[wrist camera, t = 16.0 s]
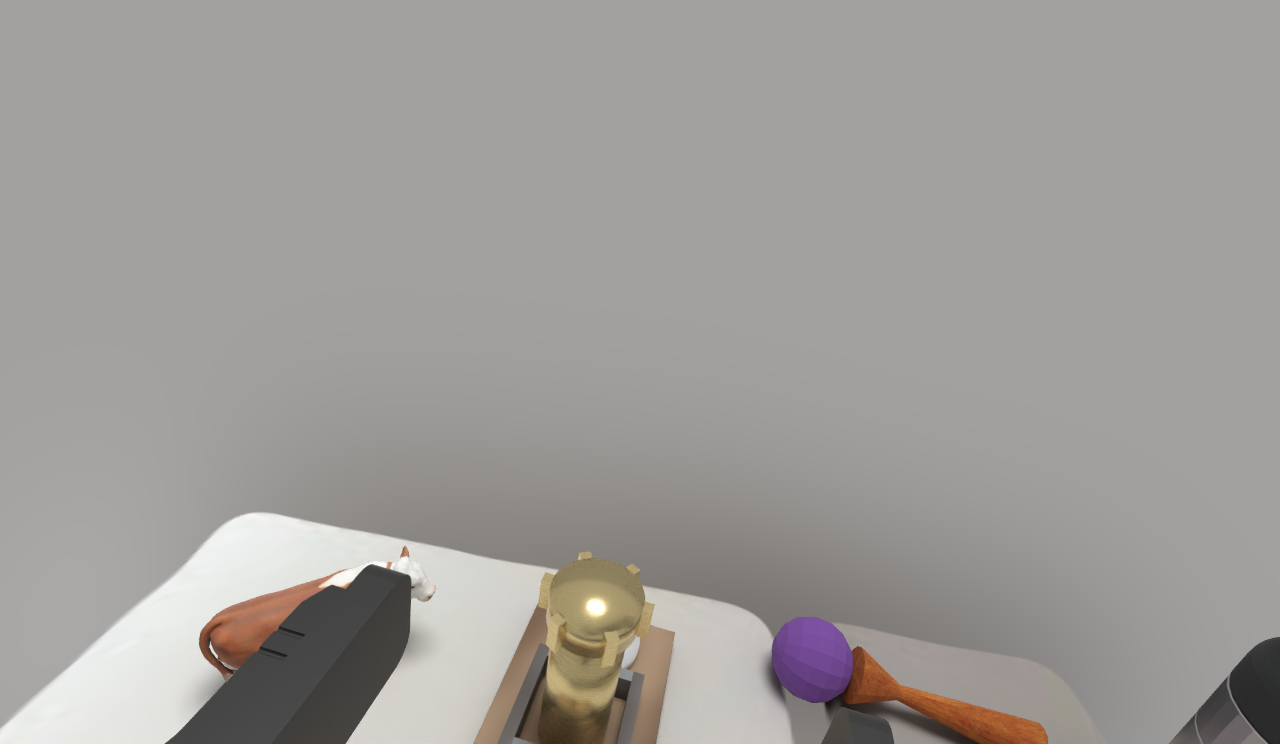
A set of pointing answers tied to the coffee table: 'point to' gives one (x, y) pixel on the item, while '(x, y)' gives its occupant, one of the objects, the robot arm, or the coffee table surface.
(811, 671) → the kendama
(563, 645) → the brass pinion
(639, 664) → the board
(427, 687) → the coffee table surface
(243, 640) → the bull figurine
